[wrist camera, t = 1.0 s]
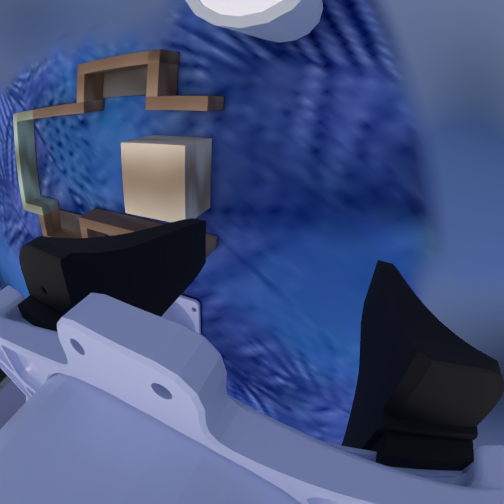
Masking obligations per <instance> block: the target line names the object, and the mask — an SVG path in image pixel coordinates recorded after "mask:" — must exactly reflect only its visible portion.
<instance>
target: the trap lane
mask: <svg viewBox="0 0 504 504" xmlns="http://www.w3.org/2000/svg"><path fill="white" fill-rule="evenodd" d="M178 64H179V53H178V52H173V51H167V50H161V49H159V50H151V51H144V52H138V53H131V54H126V55H120V56H115V57H110V58H105V59H100V60H96V61H91V62H87V63H83V64H79V65H78V73H77V103H70V104H63V105H57V106H51V107H45V108H39V109H34V110H29V111H25V112H20V113H16V114H13V123H14V140H15V152H16V162H17V171H18V178H19V186H20V192H21V198H22V204H23V209H24V210H27V211H30V212H33V213H37V214H39V217H40V222H41V227H42V232H43V236H44V237H56V238H93V237H105V234H108V235H112V236H113V235H120V234H126V233H131V232H135V231H140V230H144V229H148V228H152V227H156V226H160V225H163V223H159V222H155V221H150V220H146V219H141V218H137V217H133V216H128V215H124V214H119V213H115V212H110V211H106V210H101V209H97V208H95V209H93V210H91V211H89V212H87V213H85V214H83V215H81V214H77V213H73V212H69V211H65V210H61V209H59V205H58V200H56V199H52V198H47V197H43V196H41V195H40V188H39V180H38V172H37V163H36V152H35V138H34V119H37V118H44V117H52V116H60V115H69V114H79V113H87V112H93V111H100V110H104V98H107V97H118V96H131V95H146V110H193V111H215V110H224V96H177V79H178ZM216 247H217V236H216V235H211V234H207V233H206V257H207V256H208V255H209V254H210V253H211V252H212V251H213V250H214V249H215V248H216Z"/></svg>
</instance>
